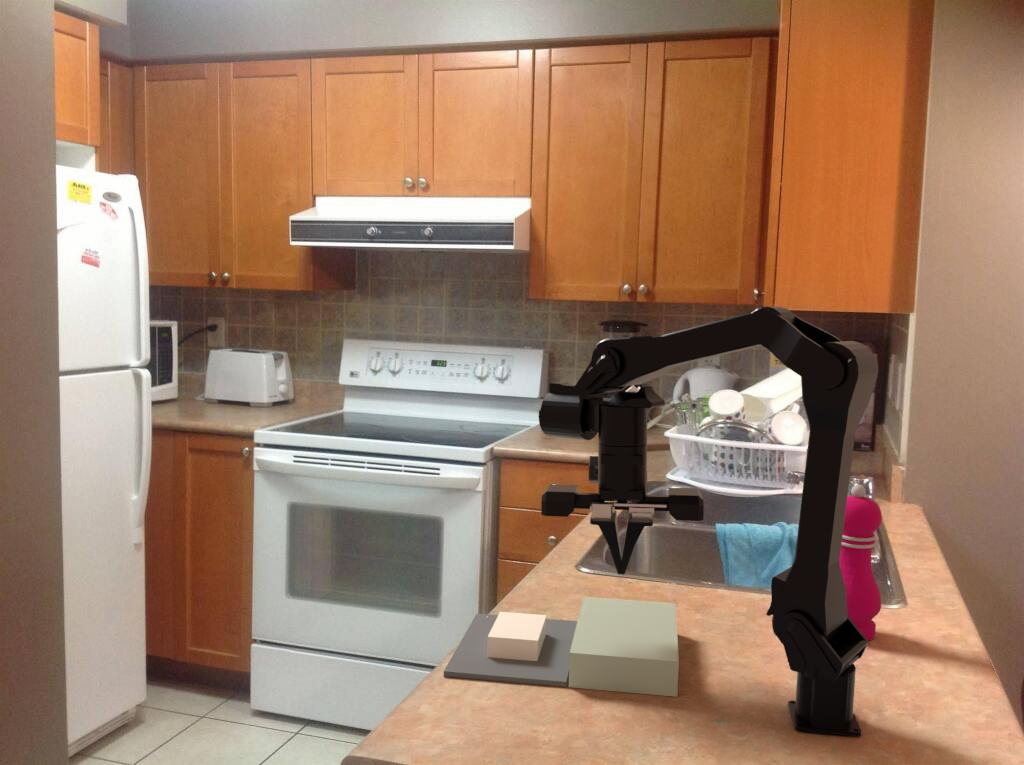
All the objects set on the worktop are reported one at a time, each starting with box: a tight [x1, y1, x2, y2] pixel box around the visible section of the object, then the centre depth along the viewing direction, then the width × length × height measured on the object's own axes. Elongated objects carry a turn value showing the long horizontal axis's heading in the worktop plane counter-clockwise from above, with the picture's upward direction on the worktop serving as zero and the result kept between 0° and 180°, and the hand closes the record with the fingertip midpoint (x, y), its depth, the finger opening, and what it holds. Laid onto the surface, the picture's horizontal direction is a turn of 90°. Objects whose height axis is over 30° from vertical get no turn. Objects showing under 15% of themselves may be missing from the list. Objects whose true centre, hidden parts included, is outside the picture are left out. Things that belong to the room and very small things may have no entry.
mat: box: [443, 613, 578, 688], centre depth 117 cm, size 20×14×1 cm
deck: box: [568, 596, 680, 698], centre depth 115 cm, size 20×12×4 cm, turn 171°
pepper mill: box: [840, 484, 883, 642], centre depth 125 cm, size 7×7×20 cm
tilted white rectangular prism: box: [487, 611, 547, 661], centre depth 117 cm, size 9×6×2 cm, turn 172°
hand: (621, 573), depth 113 cm, fingers closed
